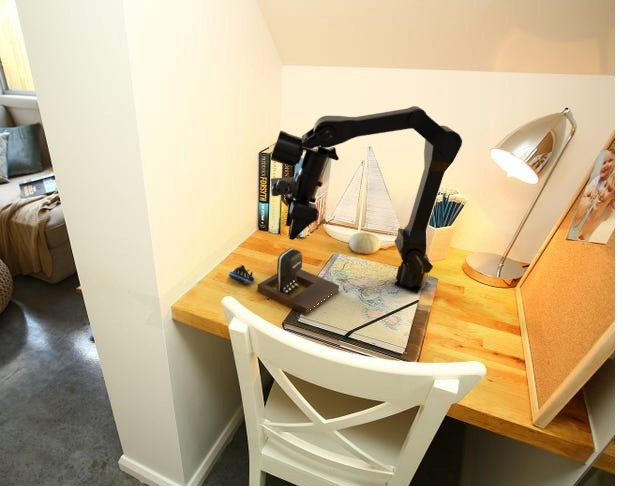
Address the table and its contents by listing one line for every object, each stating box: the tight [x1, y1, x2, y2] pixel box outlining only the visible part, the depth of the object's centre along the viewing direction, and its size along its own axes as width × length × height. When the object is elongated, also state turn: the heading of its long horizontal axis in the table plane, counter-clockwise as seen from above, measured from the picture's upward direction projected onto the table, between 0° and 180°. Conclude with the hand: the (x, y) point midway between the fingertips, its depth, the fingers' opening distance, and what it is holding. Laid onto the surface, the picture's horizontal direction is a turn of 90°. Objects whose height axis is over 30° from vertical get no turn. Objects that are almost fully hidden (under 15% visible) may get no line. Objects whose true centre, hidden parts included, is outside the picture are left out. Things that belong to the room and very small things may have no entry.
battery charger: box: [276, 247, 303, 296], centre depth 103 cm, size 7×4×11 cm, turn 140°
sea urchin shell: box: [348, 232, 381, 255], centre depth 123 cm, size 9×8×8 cm
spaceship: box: [227, 264, 255, 285], centre depth 110 cm, size 7×6×5 cm
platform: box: [257, 268, 340, 317], centre depth 104 cm, size 16×14×2 cm
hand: (289, 232), depth 101 cm, fingers open, 9 cm apart
